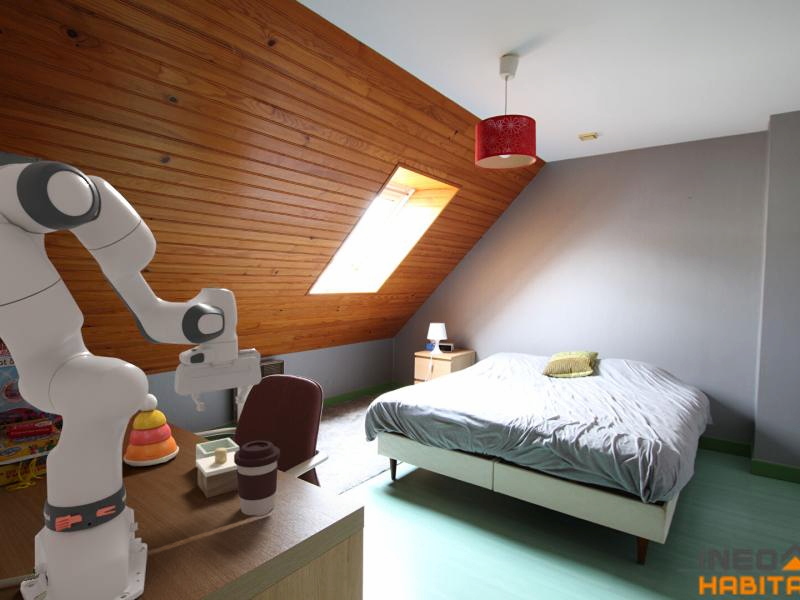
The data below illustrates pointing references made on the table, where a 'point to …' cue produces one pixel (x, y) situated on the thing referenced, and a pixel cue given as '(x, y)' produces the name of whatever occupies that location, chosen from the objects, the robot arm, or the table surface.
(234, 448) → the planter
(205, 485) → the box
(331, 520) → the table surface
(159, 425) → the stacking toy
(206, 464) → the lid
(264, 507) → the coffee cup
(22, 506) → the table surface
